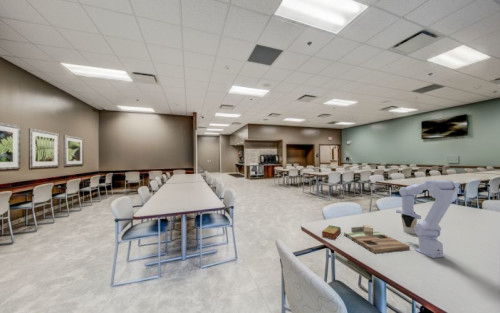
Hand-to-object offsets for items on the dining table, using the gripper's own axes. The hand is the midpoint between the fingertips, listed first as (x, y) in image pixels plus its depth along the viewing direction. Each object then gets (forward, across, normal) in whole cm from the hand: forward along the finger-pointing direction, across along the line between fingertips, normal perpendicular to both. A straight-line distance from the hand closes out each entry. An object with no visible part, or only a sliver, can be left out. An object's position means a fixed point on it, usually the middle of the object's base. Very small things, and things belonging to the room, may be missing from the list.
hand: (408, 226), depth 120 cm
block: (+7, +12, +19) cm, 24 cm away
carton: (+10, +20, +42) cm, 47 cm away
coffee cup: (+10, +13, -16) cm, 23 cm away
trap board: (+9, +4, +22) cm, 24 cm away
